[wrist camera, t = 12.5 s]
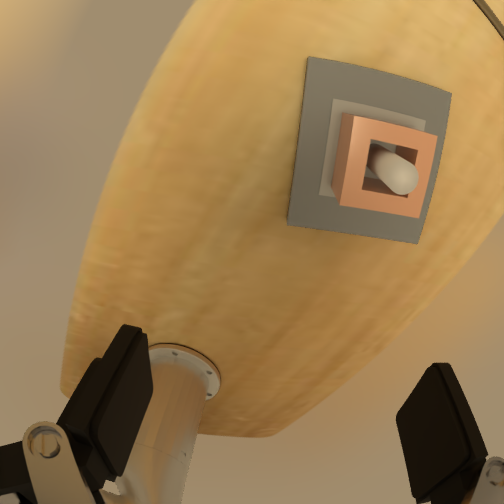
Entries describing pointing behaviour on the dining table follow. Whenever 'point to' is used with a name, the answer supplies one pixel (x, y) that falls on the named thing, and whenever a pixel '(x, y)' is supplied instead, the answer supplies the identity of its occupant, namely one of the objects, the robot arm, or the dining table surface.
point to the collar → (355, 159)
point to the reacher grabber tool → (490, 16)
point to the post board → (315, 140)
